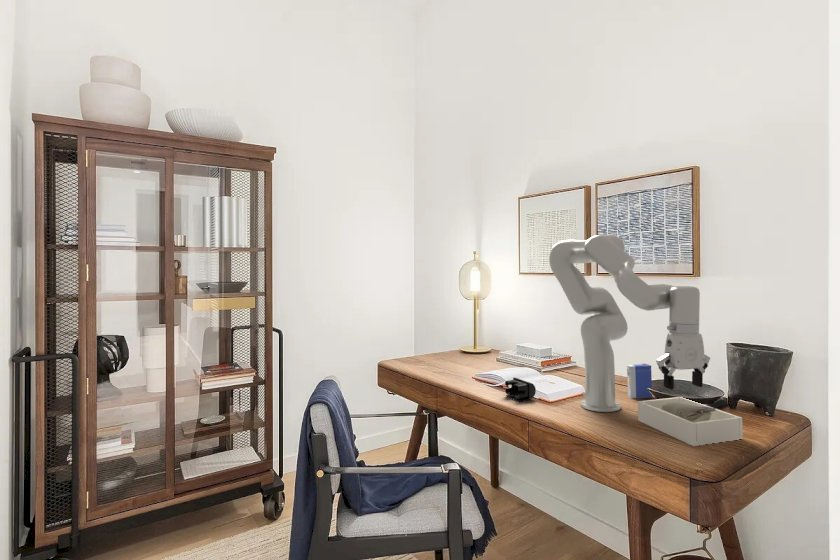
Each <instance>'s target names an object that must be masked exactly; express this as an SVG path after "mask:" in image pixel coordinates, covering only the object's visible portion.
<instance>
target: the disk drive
mask: <svg viewBox="0 0 840 560" xmlns="http://www.w3.org/2000/svg"><path fill="white" fill-rule="evenodd" d="M686 395H691V394H690V393H688V394H686ZM728 401H729V399H728V397H726V396H721V398H720V399H718V400H717V401H715V402H714V403H713V404H703V405H706V406H709V407H713V408H717V409H718V408H720V407H723V406H725V405H728Z"/></svg>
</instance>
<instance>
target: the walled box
mask: <svg viewBox="0 0 840 560" xmlns="http://www.w3.org/2000/svg"><path fill="white" fill-rule="evenodd" d="M667 402H675V403H678V404H690V405H694V406H699V407H709V406H706V405H703V404H701V403H698V402H695V401H692V400H689V399H686V398H683V397H680V396H676V397H675V396H674V397H666V398H658V399H648V400H640V401H637V414H638V415H637V416H638V419H637V420H638V422H640V423H642V424H644V425H647V426H648V427H651V428H653V429H655V430H658V431H660V432H661V433H664V434H667V435H669V436H671V437H673V438H674V439H677V440H679V441H681V442H683V443H685V444H688V445H689V446H692V447H698V446H699V445H700V446H706V445H705V444H708V445H713V444H712V443H715V444H720V443H719V442H723V443H725V442H724V441H730V442H733V441H732V440H738V441H740V440H739V439H744V437H743V435H744V434H743V433H744V432H743V417H742V416H738V415H735V414H733V413H729V412H726V411H723V410H721V409H719V408H717V409H715V410H716V411H713V412H711V417H710V421H702V422H695V423H693V422H691V421H688V420H686V419H683V418H681V417H678V416H676V415H673V414H671V413H668V412H666V411H663V410H661V409H662V406H663V405H664V404H665V403H667ZM700 446H699V447H700Z"/></svg>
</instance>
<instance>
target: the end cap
mask: <svg viewBox="0 0 840 560" xmlns="http://www.w3.org/2000/svg"><path fill="white" fill-rule="evenodd" d="M504 386H511V387H508V388H505V389H504V390H505V397H506V396H508V397H510V398H512V399H511V400H513V399H514V400H513V401H515V400H516V402H517V401H518V403H523V402H524V401H525V402H528V401H531V400H532V399H533V398H534V397H535V395H536V392H537V391H536V385H534V384H533V383H532V382H530V381H526V380H523V379H521V378H518V377H513V378H512V379H510V380H505V381H504ZM508 397H507V398H508ZM510 398H509V399H510Z"/></svg>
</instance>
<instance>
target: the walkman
mask: <svg viewBox="0 0 840 560" xmlns="http://www.w3.org/2000/svg"><path fill="white" fill-rule="evenodd" d="M626 370H627V371H626V372H627V373H626V375H627V377H626V378H627V397H628V398H629V399H646V398H647V399H649V398H651V399H652V398H653V393H652V394H651V393H650V392H649V390H648V389H647V388H652V389H653V384H652V383H653V381H652V365H650V364H648V363H641V364H627V365H626Z"/></svg>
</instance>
